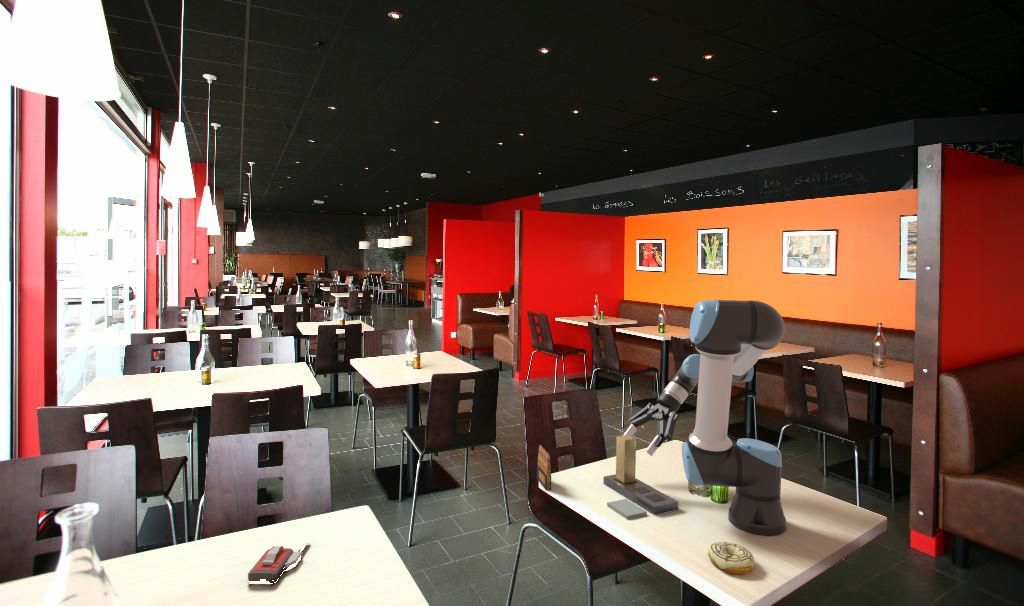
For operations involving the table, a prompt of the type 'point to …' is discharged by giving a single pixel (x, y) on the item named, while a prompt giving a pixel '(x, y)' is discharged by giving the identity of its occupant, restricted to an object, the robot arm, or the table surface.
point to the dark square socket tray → (643, 495)
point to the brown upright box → (544, 469)
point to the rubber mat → (626, 509)
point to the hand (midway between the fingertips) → (635, 447)
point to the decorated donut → (731, 557)
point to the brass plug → (625, 459)
